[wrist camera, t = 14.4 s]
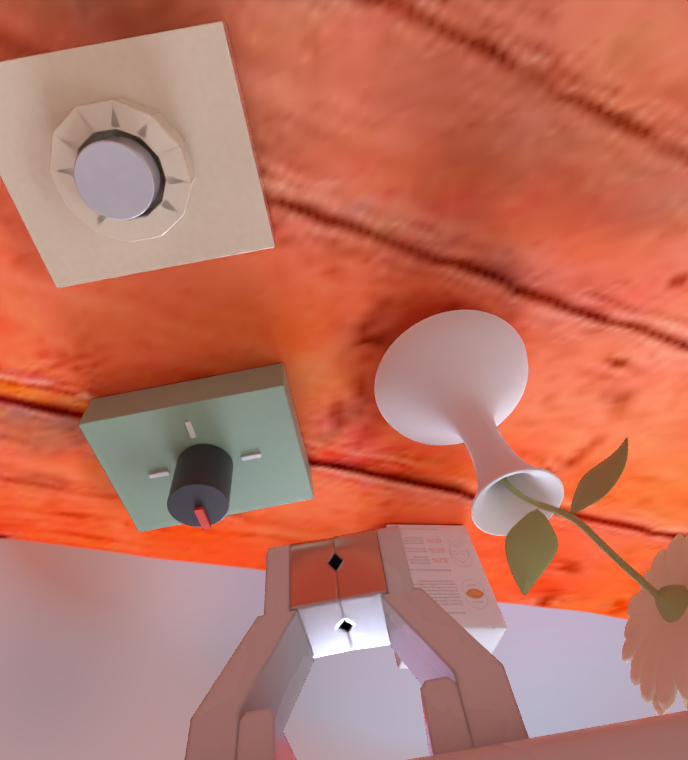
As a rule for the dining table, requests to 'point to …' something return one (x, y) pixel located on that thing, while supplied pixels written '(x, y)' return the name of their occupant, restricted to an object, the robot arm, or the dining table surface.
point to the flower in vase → (527, 476)
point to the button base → (151, 130)
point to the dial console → (201, 440)
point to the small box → (453, 579)
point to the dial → (201, 486)
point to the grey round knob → (117, 177)
